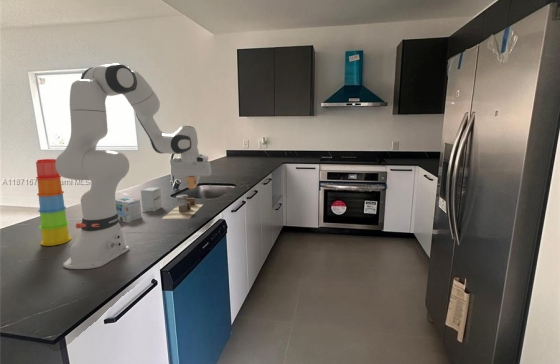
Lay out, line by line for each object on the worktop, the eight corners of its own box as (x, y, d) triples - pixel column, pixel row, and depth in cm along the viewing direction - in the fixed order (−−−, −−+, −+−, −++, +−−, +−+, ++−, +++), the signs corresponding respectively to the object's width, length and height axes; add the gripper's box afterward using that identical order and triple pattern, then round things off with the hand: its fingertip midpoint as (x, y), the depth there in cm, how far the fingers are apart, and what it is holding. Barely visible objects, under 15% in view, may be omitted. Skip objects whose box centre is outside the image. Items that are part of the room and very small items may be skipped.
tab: (194, 188, 155) (193, 177, 153) (188, 188, 155) (187, 177, 153) (196, 186, 160) (196, 175, 158) (191, 186, 160) (190, 175, 158)
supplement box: (154, 213, 162) (152, 190, 159) (142, 212, 164) (140, 190, 161) (162, 209, 169) (160, 187, 167) (150, 208, 171) (148, 187, 168)
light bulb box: (116, 220, 152) (114, 200, 149) (128, 216, 157) (126, 196, 155) (130, 223, 147) (128, 202, 144) (142, 219, 152) (140, 199, 150)
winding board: (188, 221, 149) (187, 202, 147) (161, 221, 149) (159, 202, 147) (203, 206, 174) (202, 189, 172) (180, 206, 175) (178, 189, 173)
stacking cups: (53, 237, 131) (39, 158, 124) (76, 236, 131) (63, 158, 124) (34, 246, 121) (17, 162, 114) (59, 246, 121) (44, 161, 114)
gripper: (167, 159, 151) (170, 185, 154) (208, 158, 150) (210, 185, 153) (172, 157, 157) (174, 182, 160) (211, 156, 156) (213, 182, 159)
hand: (192, 184), depth 157 cm, fingers closed on tab, 3 cm apart
